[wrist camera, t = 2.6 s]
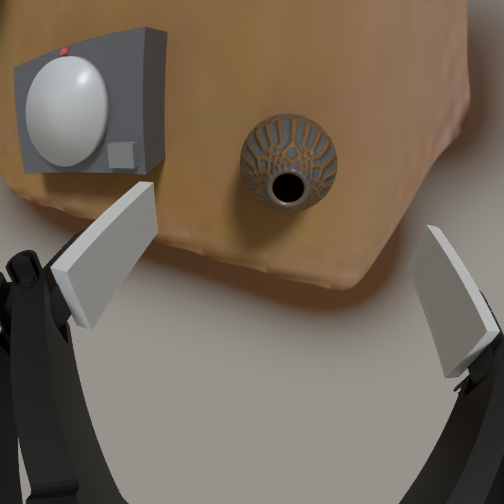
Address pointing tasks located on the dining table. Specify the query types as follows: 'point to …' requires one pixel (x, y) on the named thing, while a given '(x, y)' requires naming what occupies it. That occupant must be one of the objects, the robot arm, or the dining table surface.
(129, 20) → the dining table surface
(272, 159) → the vase
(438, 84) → the dining table surface
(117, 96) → the grey dome button box
